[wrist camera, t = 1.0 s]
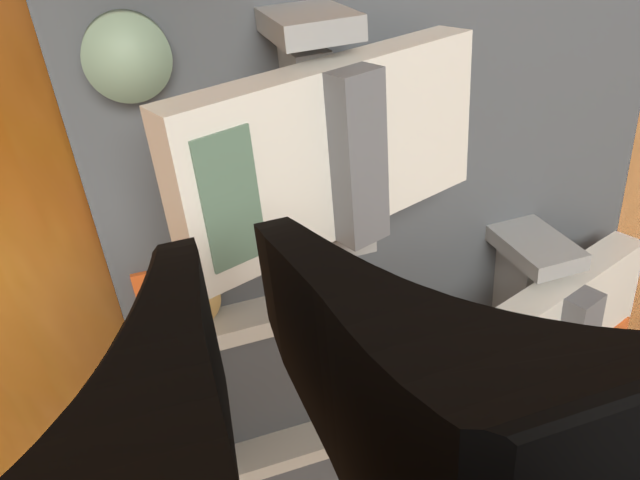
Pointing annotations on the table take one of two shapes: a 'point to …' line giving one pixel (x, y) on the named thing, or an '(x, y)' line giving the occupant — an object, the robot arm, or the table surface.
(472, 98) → the breaker panel
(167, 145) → the rocker
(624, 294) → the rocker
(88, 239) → the table surface
